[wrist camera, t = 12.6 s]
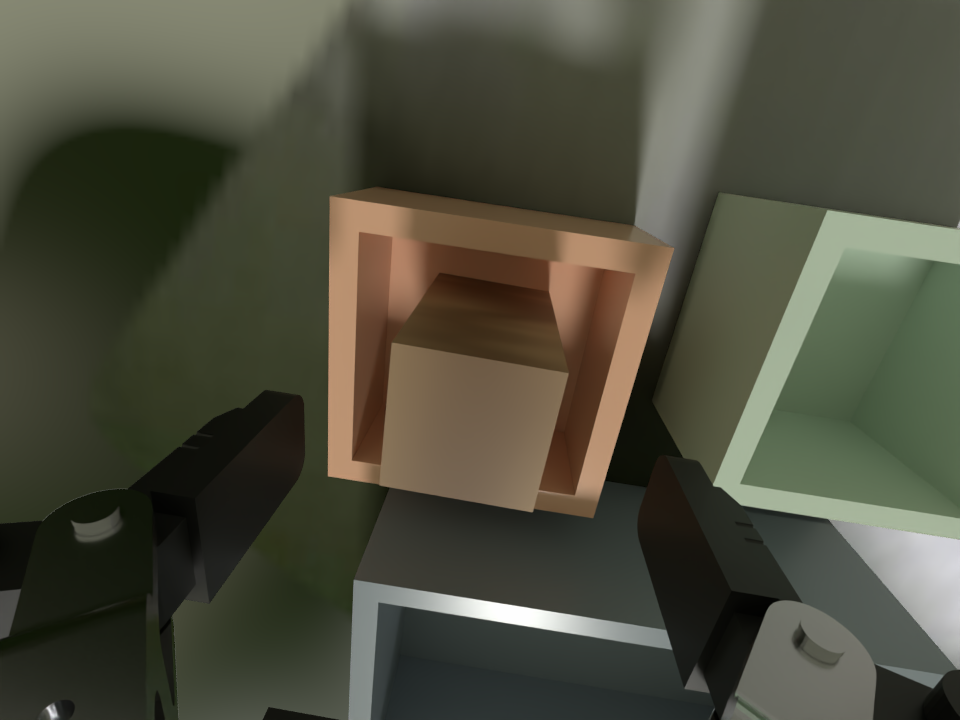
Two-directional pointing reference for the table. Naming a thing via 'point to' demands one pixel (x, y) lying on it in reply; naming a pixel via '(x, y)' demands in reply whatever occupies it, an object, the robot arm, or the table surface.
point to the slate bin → (568, 612)
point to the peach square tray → (503, 259)
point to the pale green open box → (822, 364)
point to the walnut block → (474, 393)
